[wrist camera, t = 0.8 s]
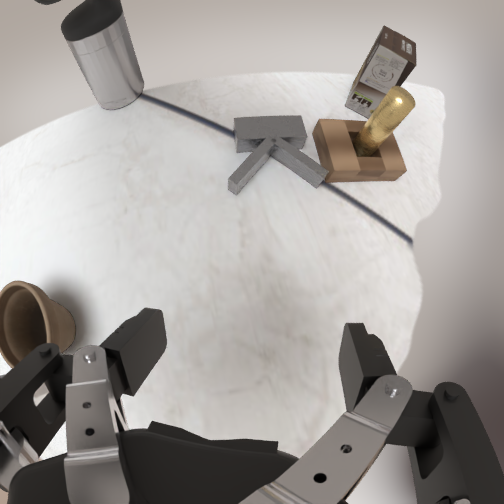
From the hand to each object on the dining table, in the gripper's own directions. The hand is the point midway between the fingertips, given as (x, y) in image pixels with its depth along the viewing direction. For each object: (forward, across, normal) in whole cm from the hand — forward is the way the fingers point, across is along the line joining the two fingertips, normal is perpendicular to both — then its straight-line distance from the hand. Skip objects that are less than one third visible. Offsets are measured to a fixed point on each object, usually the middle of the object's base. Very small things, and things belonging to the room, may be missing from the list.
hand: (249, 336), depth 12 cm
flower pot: (+14, +30, +13) cm, 36 cm away
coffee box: (+43, -16, -22) cm, 51 cm away
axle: (+36, -12, -10) cm, 39 cm away
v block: (+32, +1, -9) cm, 33 cm away
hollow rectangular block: (+36, -12, -10) cm, 39 cm away
